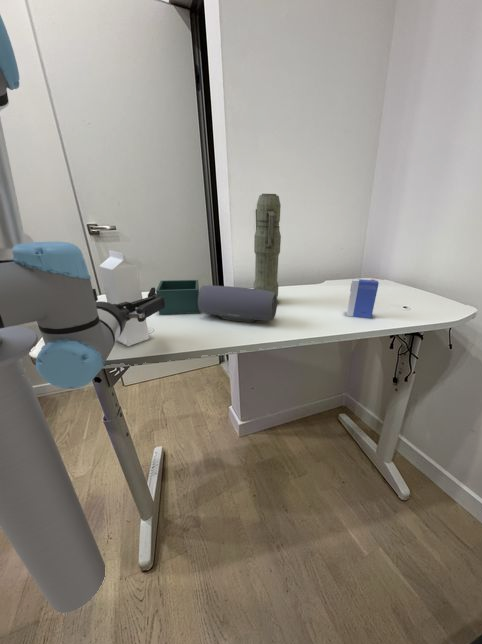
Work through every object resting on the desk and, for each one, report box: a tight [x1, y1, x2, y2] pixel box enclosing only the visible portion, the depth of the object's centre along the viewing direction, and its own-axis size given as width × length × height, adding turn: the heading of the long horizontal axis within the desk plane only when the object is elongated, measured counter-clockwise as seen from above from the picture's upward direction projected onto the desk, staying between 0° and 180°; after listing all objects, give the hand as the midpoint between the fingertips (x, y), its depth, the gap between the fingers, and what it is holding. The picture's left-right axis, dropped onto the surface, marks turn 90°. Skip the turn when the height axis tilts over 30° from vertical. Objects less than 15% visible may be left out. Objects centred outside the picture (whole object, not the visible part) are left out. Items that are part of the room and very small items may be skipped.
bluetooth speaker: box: [198, 284, 278, 323], centre depth 88 cm, size 23×9×10 cm, turn 76°
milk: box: [99, 249, 150, 347], centre depth 71 cm, size 6×6×22 cm
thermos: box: [253, 193, 282, 297], centre depth 99 cm, size 9×12×35 cm
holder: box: [155, 279, 201, 316], centre depth 97 cm, size 13×13×8 cm
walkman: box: [346, 278, 380, 319], centre depth 94 cm, size 8×3×12 cm, turn 76°
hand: (125, 293), depth 71 cm, fingers open, 13 cm apart
